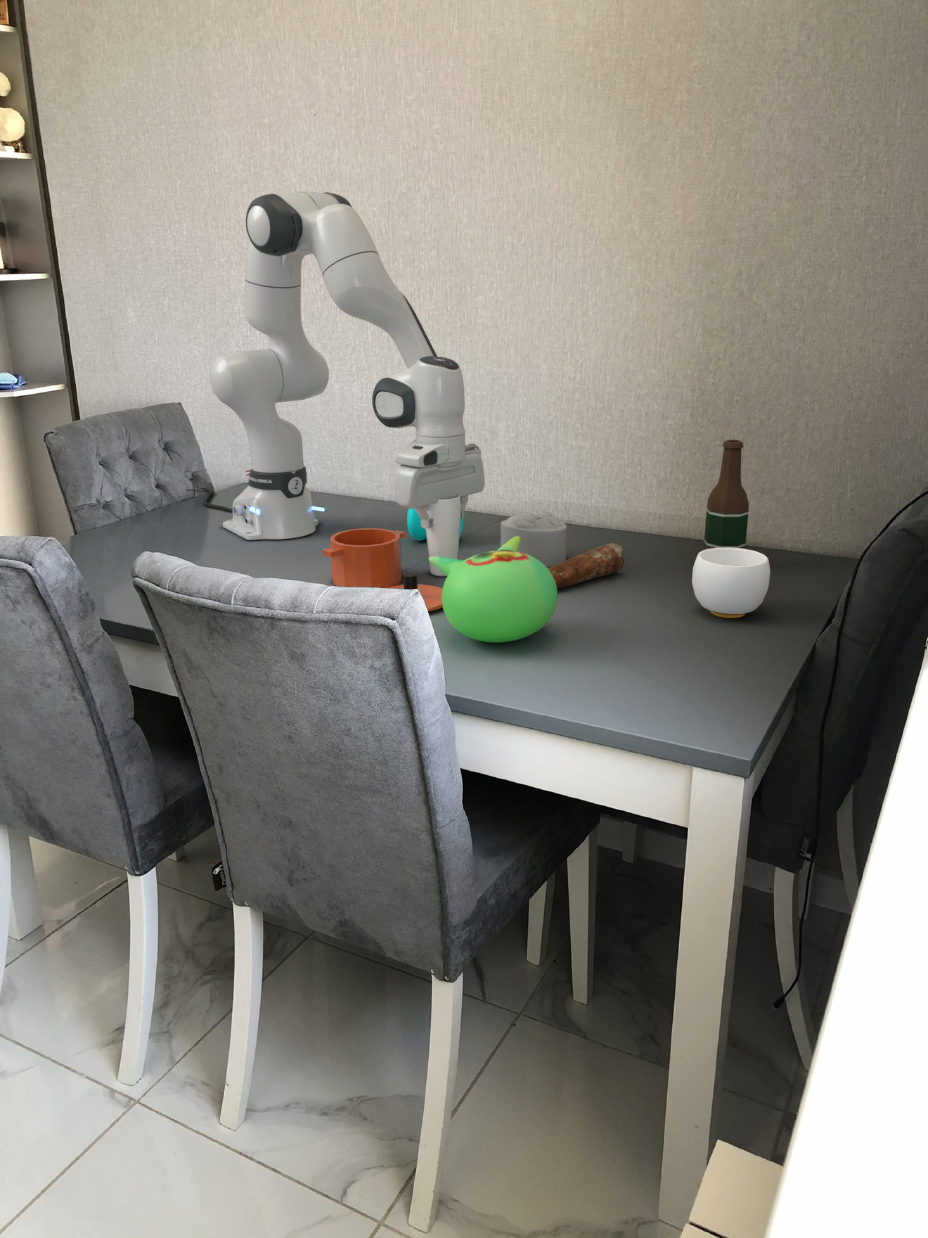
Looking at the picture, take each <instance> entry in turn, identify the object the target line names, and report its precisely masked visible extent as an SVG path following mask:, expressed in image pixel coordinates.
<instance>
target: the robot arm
mask: <svg viewBox="0 0 928 1238" xmlns="http://www.w3.org/2000/svg"><path fill="white" fill-rule="evenodd" d="M245 229H246V234H247V236H248V238H249V239H248V243H247V248H246V256H245V268H244V316H245V318H246V321H247V322H248V324H249V325H250V326H251V327H252V328H253V329H255V330H256V331H259V332H260V333H262V334H264V335H265V336H267V337H268V347H267V348H266V349H251V350H237V351H234V352H230V353H227V354H223V355H221V356H218V357H217V358H216V359H215V360H214V362H213V363H212V366H211V368H210V372H209V380H210V381H209V382H210V387H211V389H212V391H213V394H214V395H215V396H216V398H217V399H218V400H219V401H220V402H221V403H223V404H224V405H226V406H227V407H228V408H229V409H231V410H232V411H233V412H234V413H235V415H237V417H238V418H239V420H240V421H241V423H242V425H243V427H244V430H245V431H246V435H247V440H248V445H249V453H250V462H251V469H249V470H245V473H247V474H245V476H246V477H248V481H247V487H246V488H244V490H243V491H242V492H241V493H240V494H239V495H238V496H237V497H235V499H234V500H233V502H232V508H230V507H227V506H223V505H218V504H212V503H210V502H208V501H209V500H210V498H211V496H213V494H214V491H213V490H212V489H211V488H208V487H206V488H207V489H206V488H200V489H201V490H203V491H206V492H208V494H206V496H205V498H204V499H203V501H202V503H203V504H204V505H205V506H206V507H208V508H213V509H216V510H223V511H227V512H228V513H232V518H230V519H228V520H225V521H223V522H222V528H224V529H226V530H227V531H230V532H232V533H233V534H235V535H237V536H239V537H240V538H243V539H245V540H247V541H257V540H258V541H259V540H288V539H295V538H300V537H305V536H308V535H311V534H313V533H314V532H316V530H317V528H316V527H317V526H318V525H319V520H318V519H317V518H316V517H315V512H314V511H319V512H325V507H318V506H314V505H313V500H312V495H311V494H312V493H311V490H310V489H309V488H308V487H307V484H308V472H307V467H306V466H305V464H304V447H303V436H302V433H301V431H300V430H299V428H298V427H297V426H296V425H295V424H293V422H290V421H288V420H286V419H284V418H281V417H280V416H279V414H278V412H277V407H276V404H278V403H287V402H295V401H296V402H297V401H304V400H308V399H311V398H313V397H317V396H319V395H321V394H323V393H324V391H326V388H327V387H328V384H329V379H330V370H329V366H328V363H327V361H326V359H325V357H324V356H323V354H321V352H319V350H317V349H316V348H315V347H314V346H313V345H312V344H311V342H310V341H309V339H308V338H307V335H306V334H305V330H304V327H303V322H302V263H303V260H304V258H305V257H306V256H309V255H313V256H314V258H315V260H316V262H317V266H318V267H319V271H320V274H321V276H322V279H323V281H324V285H325V286H326V289H327V292H328V294H329V296H330V297H331V299H332V301H333V302H334V304H335V305H336V307H337V308H338V309H339V310H341V311H342V312H344V313H345V314H346V315H348V316H350V317H352V318H356V319H359V320H362V321H364V322H368V323H369V324H371V325H374V326H376V327H378V328H379V329H381V330H382V331H384V332H385V333H387V334H388V335H389V337H390V338H391V339H392V341H393V342H394V344H395V345H396V348H397V350H398V352H399V354H400V356H401V357H402V360H403V362H404V364H405V365H406V367H407V368H406V369H404V370H402V371H400V372H397V373H394V374H391V375H388V376H386V377H383V378H381V379H380V380H378V381H377V382H376V384H375V386H374V388H373V391H372V396H371V405H372V409H373V412H374V415H375V416H376V419H377V420H378V421H379V422H380V423H381V425H383V426H384V427H387V428H393V429H403V428H410V427H414V428H415V430H416V431H415V432H416V433H415V434H416V435H415V436H416V438H415V439H414V440H412V441H411V442H410V443H409V444H407V445H406V446H404V447H402V448H401V449H400V450H398V451H397V452H396V453H395V456H394V458H395V462H396V464H398V465H399V466H398V467H397V468H396V471H395V476H394V496H395V502H396V504H397V505H398V506H399V508H403V509H407V510H408V509H414V508H416V511H417V513H418V515H419V517H420V518H421V527H422V528H425V529H428V528H431V527H433V518H430V517H429V515H428V513H427V511H428V510H429V505H430V504H434V503H437V502H438V500H439V499H452V498H456V497H458V495H460V504H461V519H463V518H464V519H465V509H466V507H467V504H468V502H469V496H470V495H475V494H478V493H481V492H483V491H484V488H485V487H486V478H485V469H484V461H483V458H482V450H481V448H480V447H479V446H478V445H476V443H472V442H471V443H468V444H466V430H465V425H464V420H463V419H464V413H465V410H466V408H465V407H466V406H465V405H466V403H465V402H466V401H465V384H464V377H463V372H462V369H461V366H460V365H459V364H458V362H457V361H455V360H454V359H451V358H448V357H444V356H438V355H437V352H436V351H435V349H434V347H433V344H432V343H431V340H430V338H429V337H428V334H427V333H426V330H425V329H424V326H423V325H422V323H421V320H420V319H419V318H418V315H417V314H416V312H415V310H414V308H413V306H412V305H411V303H410V301H409V300H408V299H407V297H406V296H405V295H404V293H403V292H401V291H400V289H399V288H398V287H397V285H396V284H395V283H394V281H393V279H392V278H391V277H390V275H389V273H388V272H387V269H386V267H385V266H384V264H383V261H382V259H381V257H380V254H379V252H378V249H377V247H376V244H375V242H374V240H373V238H372V236H371V234H370V233H369V230H368V228H367V226H366V225H365V223H364V222H363V219H362V218H361V217H360V215H359V213H358V212H357V211H356V210H355V208H354V207H353V206H352V204H351V203H350V202H349V200H348V199H347V198H345V197H344V196H342V195H340V194H336V193H334V192H329V191H325V192H318V191H317V192H316V191H309V190H308V191H306V190H305V191H303V190H299V191H294V192H284V193H277V194H276V193H268V194H263V195H261V196H260V195H259V196H258V197H256V198H254V199H253V200H252V201H251V202H250V204H249V205H248V208H247V211H246V215H245ZM196 488H198V487H196ZM198 489H199V488H198Z"/></svg>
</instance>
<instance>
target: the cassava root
mask: <svg viewBox="0 0 928 1238" xmlns="http://www.w3.org/2000/svg"><path fill="white" fill-rule="evenodd" d="M623 554H624V547H623V546H622V545H620V544H617V543H614V542H612V543H607V544H604V545H600V546H598V547H596V548H592V549H590V550H588V551H585V552H582V553H579V554H578V555H575V556H573V557H571V558H569V559H566V561H564V562H561V563H559V564H557V565H555V566H551V567H547V568H548V570H549V571H550V572H551V574H552V576H553V578H554V580H555V583H556V587H557V590H558V589H562V588H566V587H570V586H574V585H577V584H580V583H583V582H586V581H591V580H594V579H597V578H600V577H604V576H609V575H612V574H614V573H616V572H619V571H620V570H622V569H623V568H624V563H625V559H624V555H623Z"/></svg>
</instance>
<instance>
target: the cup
mask: <svg viewBox="0 0 928 1238" xmlns="http://www.w3.org/2000/svg"><path fill="white" fill-rule="evenodd" d="M769 561H770V560H769V558H768V557H767V556H766V555H765V554H763V553H761V552H759V551H756V550H752V549H746V548H745V549H741V548H712V549H706V550H704V551H703V550H702V551H699V552H698V553H697V556H696V557H695V560H694V564H693V567H692V576H691V584H692V585H691V586H692V589H693V593H694V597H695V598H696V600H697V601H698V603H699V604H700V606H701V607H702V608H704V609H706V610H708V611H709V612H710V613H711V614H712V615H714V616H716V617H720V618H725V619H737V618H742V617H744V616H745V615H746V614H747V613H751V612H753V611H755V610H757V609H758V608H759V607H760V606H761V604H763V602H764V599H765V598H766V596H767V592H768V590H769V587H770V578H771V567H770V562H769Z"/></svg>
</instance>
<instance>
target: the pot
mask: <svg viewBox="0 0 928 1238" xmlns="http://www.w3.org/2000/svg"><path fill="white" fill-rule="evenodd" d="M405 538H407V533H406V531H403V530H397V529H396V530H390V529H387V528H377V527H363V528H361V527H360V528H354V529H347V530H343V531H338V532H337V533H334V534H333V535H331V537H330V538H329V545H330V546H329V547H328V548H324V549H322V556H324V557H328V558H330V562H331V578H332V584H333V586H334V585H338V586H344V587H380V588H387V587H392V586H397V585H401V583H402V553H401V551H402V549H401V540H402V539H405Z"/></svg>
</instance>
